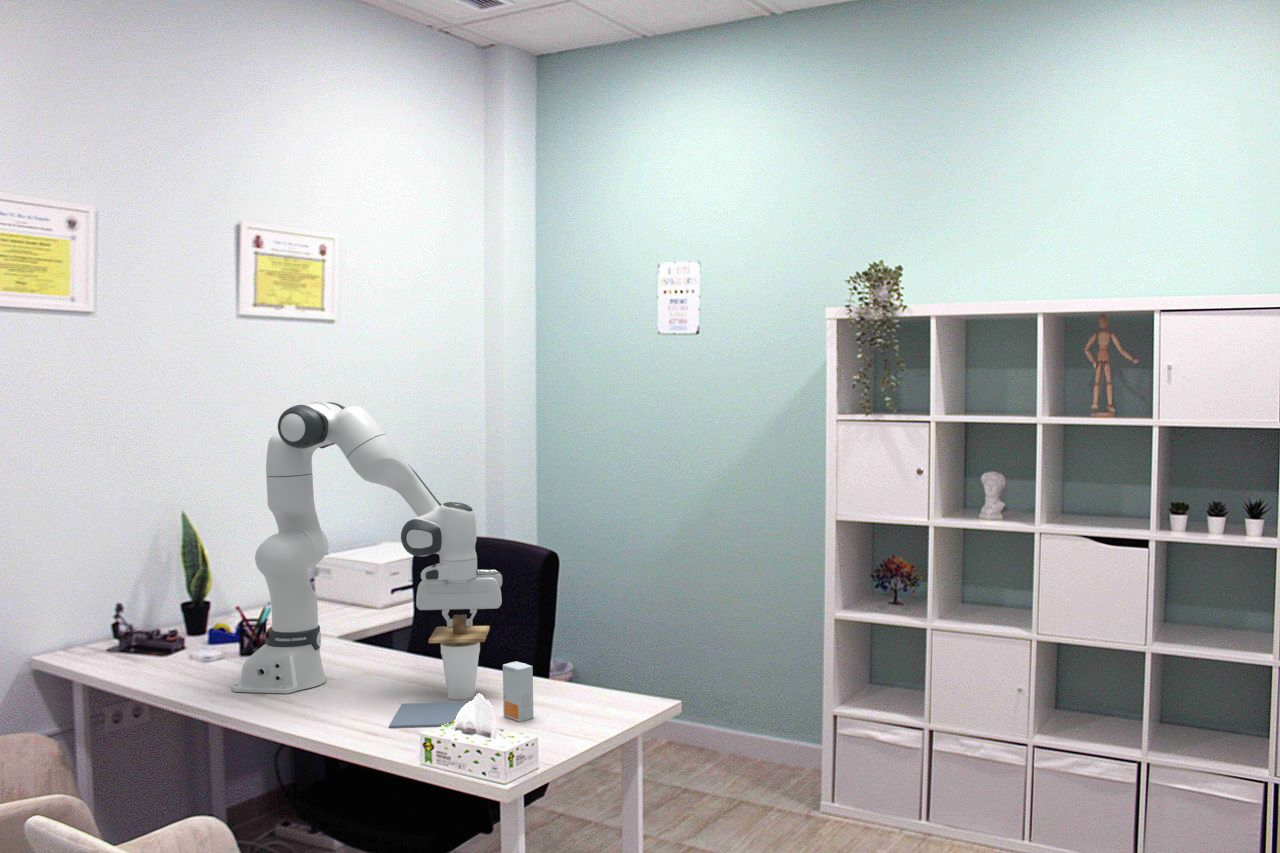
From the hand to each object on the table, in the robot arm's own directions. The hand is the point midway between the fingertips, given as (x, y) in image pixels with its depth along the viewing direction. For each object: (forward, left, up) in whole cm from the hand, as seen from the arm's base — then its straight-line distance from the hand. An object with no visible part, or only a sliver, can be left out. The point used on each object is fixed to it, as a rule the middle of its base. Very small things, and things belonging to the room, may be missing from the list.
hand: (459, 627), depth 258 cm
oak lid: (0, 0, -2) cm, 2 cm away
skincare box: (+15, -18, -17) cm, 29 cm away
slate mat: (-4, -15, -17) cm, 23 cm away
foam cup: (0, 0, -17) cm, 17 cm away
